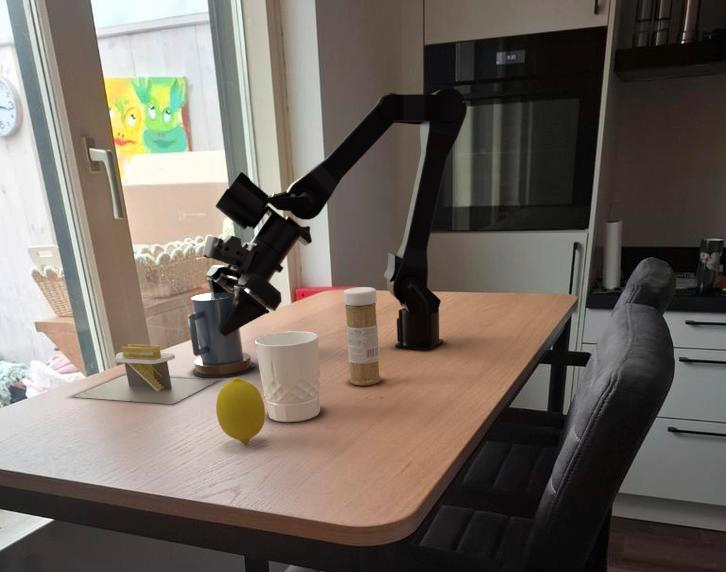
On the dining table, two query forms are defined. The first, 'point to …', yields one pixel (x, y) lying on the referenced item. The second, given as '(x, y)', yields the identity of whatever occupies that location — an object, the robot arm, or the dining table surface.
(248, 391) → the lemon
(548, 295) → the dining table surface
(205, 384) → the platform
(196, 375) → the base
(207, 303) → the mug
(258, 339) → the white cup
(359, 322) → the spice jar
